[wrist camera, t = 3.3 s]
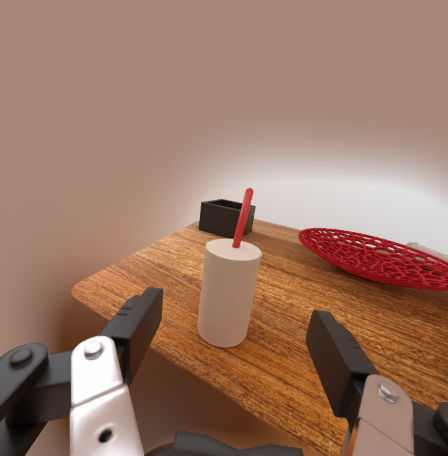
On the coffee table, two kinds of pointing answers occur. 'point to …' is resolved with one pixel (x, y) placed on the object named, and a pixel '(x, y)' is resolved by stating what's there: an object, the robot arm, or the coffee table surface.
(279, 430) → the coffee table surface
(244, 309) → the paper cup
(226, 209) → the bin
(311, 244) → the bowl
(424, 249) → the tube
